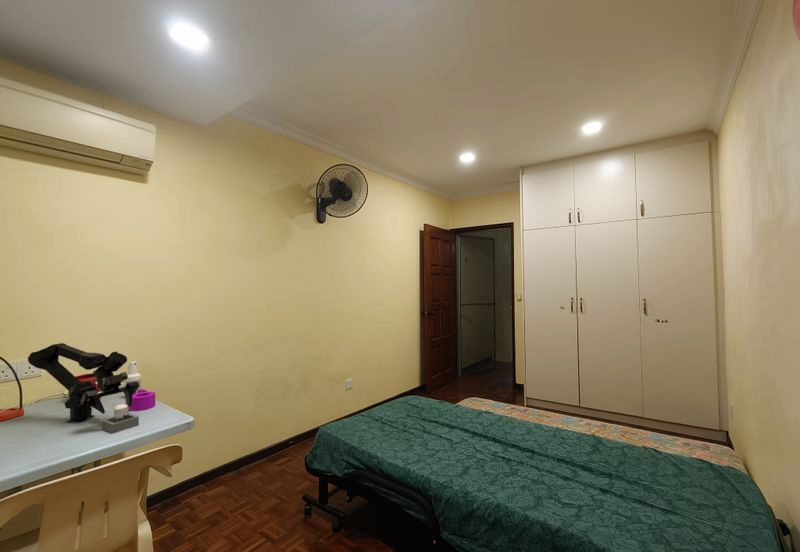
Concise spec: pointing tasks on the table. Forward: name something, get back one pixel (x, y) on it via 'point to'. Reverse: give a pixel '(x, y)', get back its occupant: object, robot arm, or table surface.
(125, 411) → the milkshake
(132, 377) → the spray bottle
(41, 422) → the table surface
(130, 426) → the collar
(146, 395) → the tape dispenser
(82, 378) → the plant pot
